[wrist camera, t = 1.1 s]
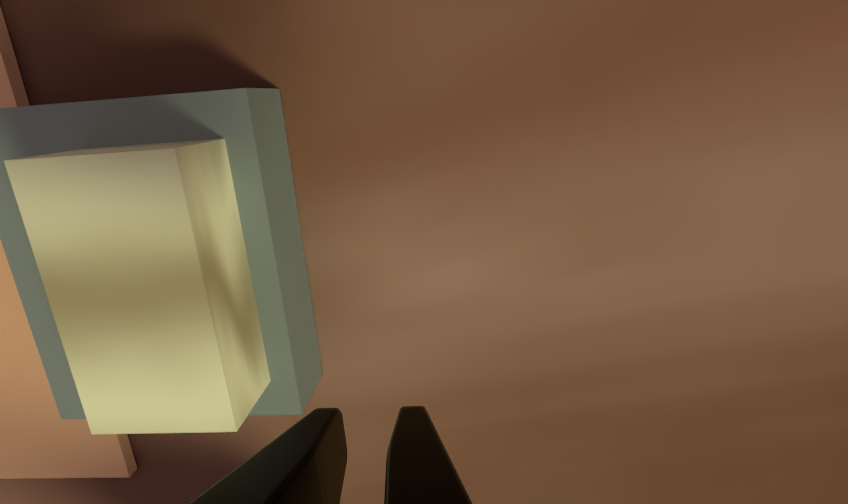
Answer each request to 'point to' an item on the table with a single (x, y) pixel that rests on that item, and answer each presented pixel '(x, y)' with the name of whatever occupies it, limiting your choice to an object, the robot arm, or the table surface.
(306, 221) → the table surface
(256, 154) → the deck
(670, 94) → the table surface
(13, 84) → the mat
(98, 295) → the birch block
